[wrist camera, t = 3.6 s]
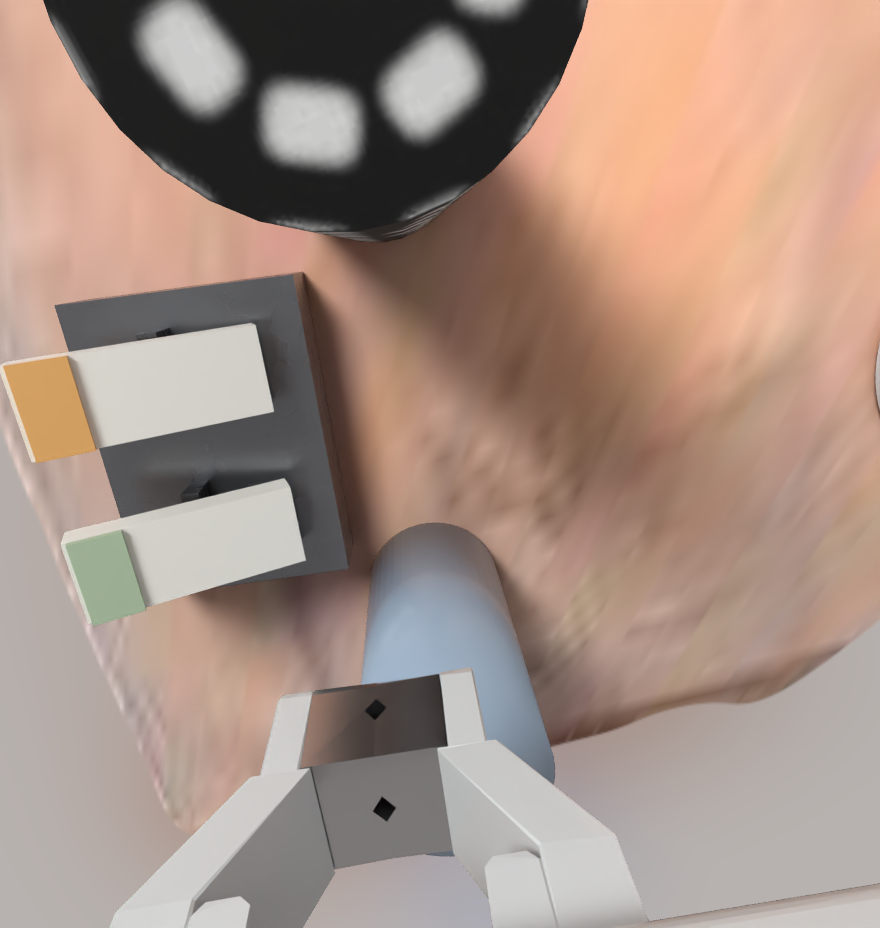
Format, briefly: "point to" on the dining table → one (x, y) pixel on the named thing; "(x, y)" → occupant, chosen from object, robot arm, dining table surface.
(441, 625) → the blue cylinder
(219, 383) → the paddle
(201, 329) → the panel
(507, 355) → the dining table surface
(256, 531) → the paddle
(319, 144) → the white-spotted black cylinder
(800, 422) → the dining table surface
